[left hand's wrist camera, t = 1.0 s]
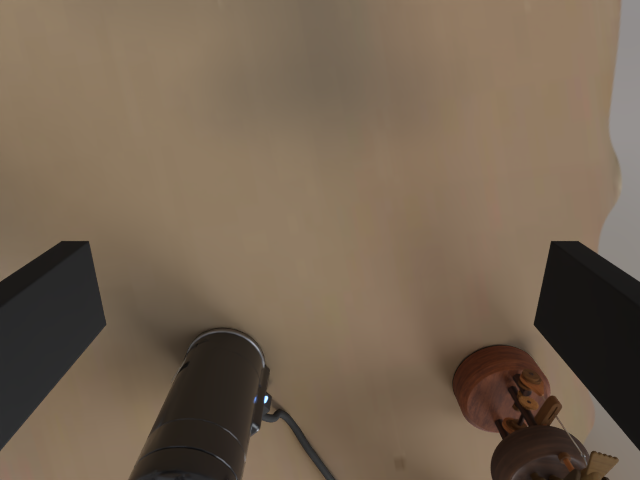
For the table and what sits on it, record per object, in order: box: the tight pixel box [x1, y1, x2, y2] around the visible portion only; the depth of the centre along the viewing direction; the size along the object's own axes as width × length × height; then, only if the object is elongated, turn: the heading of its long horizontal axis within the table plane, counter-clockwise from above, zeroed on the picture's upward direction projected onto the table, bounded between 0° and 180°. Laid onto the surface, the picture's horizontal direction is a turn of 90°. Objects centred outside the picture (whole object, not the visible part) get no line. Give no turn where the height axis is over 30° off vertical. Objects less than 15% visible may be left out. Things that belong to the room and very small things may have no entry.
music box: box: [453, 346, 619, 480], centre depth 45 cm, size 15×11×20 cm
